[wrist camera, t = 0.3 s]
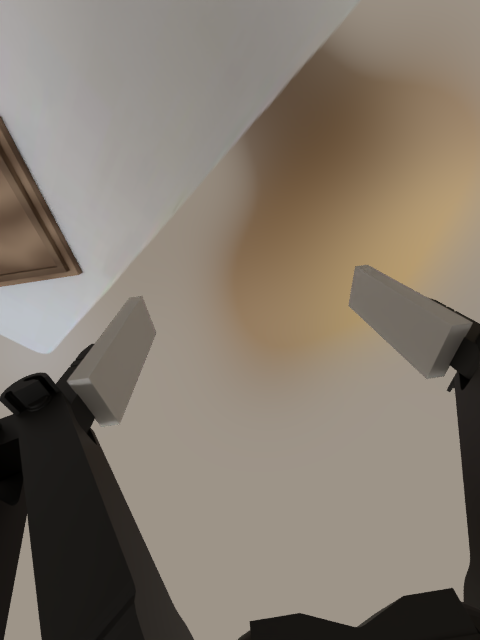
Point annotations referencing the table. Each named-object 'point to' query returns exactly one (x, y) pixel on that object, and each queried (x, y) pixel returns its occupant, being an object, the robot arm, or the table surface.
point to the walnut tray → (27, 225)
